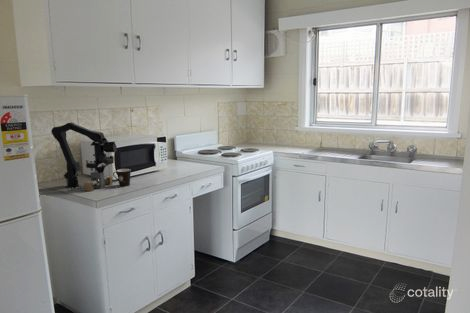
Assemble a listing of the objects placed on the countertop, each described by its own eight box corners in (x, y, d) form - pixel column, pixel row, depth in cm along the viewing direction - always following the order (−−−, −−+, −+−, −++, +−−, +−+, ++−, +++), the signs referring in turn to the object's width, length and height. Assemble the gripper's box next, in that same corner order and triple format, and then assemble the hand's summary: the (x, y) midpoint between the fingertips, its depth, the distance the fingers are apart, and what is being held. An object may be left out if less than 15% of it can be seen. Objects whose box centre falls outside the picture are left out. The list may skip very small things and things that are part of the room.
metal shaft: (91, 191, 221) (90, 182, 220) (84, 190, 223) (84, 182, 222) (112, 184, 238) (111, 176, 237) (106, 183, 240) (105, 175, 239)
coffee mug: (134, 185, 235) (133, 170, 233) (122, 187, 228) (121, 172, 227) (124, 182, 242) (123, 167, 241) (112, 184, 236) (111, 169, 234)
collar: (101, 188, 227) (100, 173, 225) (91, 187, 230) (90, 172, 228) (104, 187, 230) (103, 172, 228) (95, 186, 233) (93, 171, 231)
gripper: (99, 155, 218) (100, 180, 220) (119, 150, 235) (121, 174, 237) (84, 154, 222) (86, 179, 224) (105, 149, 239) (107, 173, 241)
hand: (101, 176), depth 232 cm, fingers closed
